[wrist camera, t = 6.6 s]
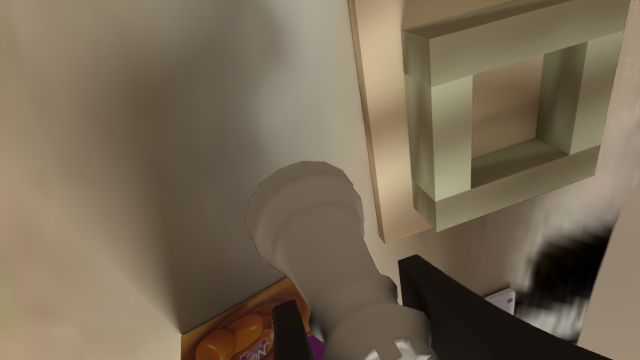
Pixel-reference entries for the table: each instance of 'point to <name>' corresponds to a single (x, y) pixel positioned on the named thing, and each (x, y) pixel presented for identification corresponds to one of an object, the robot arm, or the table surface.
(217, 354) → the candy box
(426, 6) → the socket stand
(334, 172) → the rook chess piece
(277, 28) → the table surface
